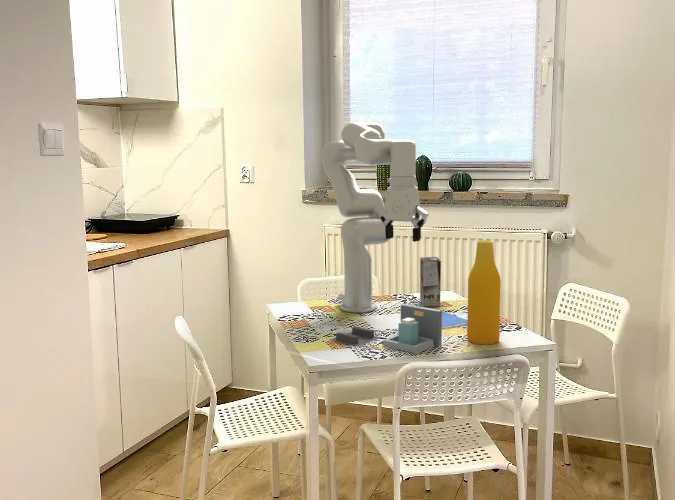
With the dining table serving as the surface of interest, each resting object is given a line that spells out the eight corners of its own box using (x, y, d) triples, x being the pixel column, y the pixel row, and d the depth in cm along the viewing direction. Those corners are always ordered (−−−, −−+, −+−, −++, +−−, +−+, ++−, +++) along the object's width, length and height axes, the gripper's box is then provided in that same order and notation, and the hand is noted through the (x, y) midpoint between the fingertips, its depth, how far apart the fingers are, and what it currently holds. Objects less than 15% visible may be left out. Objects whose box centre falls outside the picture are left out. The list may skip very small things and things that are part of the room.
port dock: (380, 346, 194) (380, 312, 192) (403, 336, 203) (403, 303, 201) (419, 354, 186) (419, 319, 184) (441, 344, 195) (441, 310, 193)
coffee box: (440, 306, 238) (441, 260, 236) (422, 306, 238) (422, 261, 236) (437, 300, 247) (437, 256, 245) (419, 300, 247) (419, 256, 245)
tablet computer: (473, 325, 216) (473, 321, 216) (441, 331, 210) (441, 327, 210) (437, 312, 233) (437, 308, 232) (406, 317, 227) (406, 313, 226)
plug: (398, 347, 193) (398, 319, 192) (406, 343, 196) (406, 316, 195) (410, 349, 190) (410, 321, 189) (418, 346, 194) (418, 318, 192)
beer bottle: (505, 340, 198) (508, 241, 193) (486, 347, 192) (488, 245, 187) (479, 333, 205) (481, 238, 200) (460, 340, 199) (461, 241, 194)
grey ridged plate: (328, 341, 200) (328, 332, 199) (352, 332, 208) (352, 324, 208) (358, 347, 193) (358, 339, 192) (381, 338, 201) (381, 330, 201)
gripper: (371, 182, 204) (372, 238, 207) (420, 184, 193) (420, 243, 196) (386, 180, 210) (386, 235, 212) (434, 182, 199) (434, 240, 201)
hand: (402, 239), depth 204 cm, fingers open, 9 cm apart
